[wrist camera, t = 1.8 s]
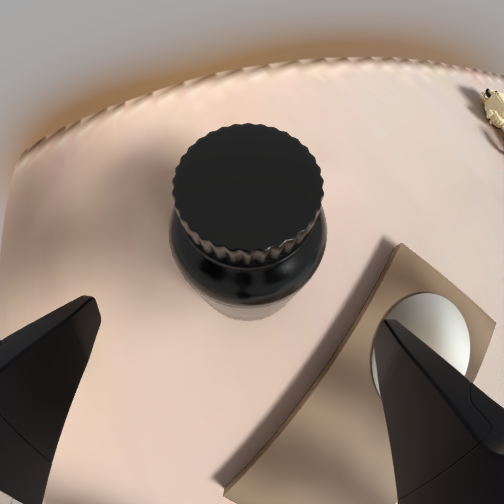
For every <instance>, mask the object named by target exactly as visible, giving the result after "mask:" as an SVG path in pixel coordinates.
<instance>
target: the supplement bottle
mask: <svg viewBox="0 0 504 504" xmlns="http://www.w3.org/2000/svg"><path fill="white" fill-rule="evenodd" d="M175 172H176V175H175V177H174V178H173V181H172V183H173V187H174V189H173V192H172V197H173V199H174V201H175V205H174V207H173V210H172V213H171V217H170V223H169V242H170V248H171V251H172V255H173V257H174V260H175V262H176V264H177V266H178V268H179V270H180V271H181V273H182V274H183V276H184V277H185V279H186V280H187V281H188V282H189V283H190V285H191V286H192V287H193V288H194V289H195V290H196V291H197V292H198V293H199V294H200V295H201V296H202V297H203V298H204V299H205V300H206V301H207V302H208V303H209V304H210V305H211V306H212V307H213V308H215V309H216V310H217V311H219V312H220V313H222V314H223V315H226V316H228V317H230V318H233V319H237V320H245V321H251V320H259V319H263V318H266V317H268V316H270V315H273V314H274V313H276V312H277V311H279V310H280V309H281V308H283V307H284V306H285V305H286V304H287V303H288V302H289V301H290V300H291V299H292V298H293V297H294V296H295V295H296V294H297V293H298V292H299V291H300V290H301V289H302V288H303V287H304V286H305V284H306V283H307V282H308V281H309V280H310V279H311V277H312V276H313V274H314V273H315V271H316V270H317V268H318V266H319V264H320V262H321V260H322V257H323V255H324V251H325V248H326V241H327V223H326V217H325V213H324V210H323V207H322V205H321V201H322V199H323V197H324V191H323V189H322V187H323V183H324V180H323V178H322V177H321V175H320V173H321V169H320V167H319V166H318V165H317V164H316V159H315V157H314V156H313V155H312V154H310V152H309V150H308V148H307V147H306V146H304V145H302V144H301V143H300V141H299V140H298V139H297V138H294V137H291V136H290V135H289V134H288V133H287V132H284V131H279V130H278V129H276V128H275V127H267V126H265V125H262V124H258V125H254V124H250V123H246V124H242V125H240V124H234V125H231V126H229V127H221V128H220V129H218V130H217V131H212V132H209V133H208V134H207V135H206V136H205V137H202V138H200V139H198V140H197V142H196V143H195V144H194V145H192V146H190V147H189V148H188V151H187V153H186V154H185V155H183V156H182V157H181V160H180V164H179V165H178V166H177V167H176V169H175Z"/></svg>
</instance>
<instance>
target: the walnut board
mask: <svg viewBox="0 0 504 504" xmlns="http://www.w3.org/2000/svg"><path fill="white" fill-rule="evenodd" d="M383 319H396V320H397V321H398V322H400V323H401V324H402V325H403V326H405V327H406V328H407V329H408V330H410V331H411V332H412V333H413V334H415V335H416V336H417V337H418V338H419V339H421V340H422V341H423V342H424V343H426V344H427V345H428V346H429V347H430V348H432V349H433V350H434V351H435V352H436V353H438V354H439V355H440V356H441V357H442V358H444V359H445V360H446V361H447V362H448V363H450V364H451V365H452V366H453V367H454V368H456V369H457V370H458V371H459V372H460V373H461V374H463V375H464V376H465V377H466V378H467V379H468V380H469V381H470V382H472V383H473V382H474V380H475V378H476V375H477V373H478V371H479V368H480V366H481V364H482V361H483V359H484V356H485V354H486V351H487V348H488V346H489V343H490V340H491V337H492V334H493V331H494V328H495V325H496V322H495V321H494V320H493V319H492V318H491V317H489V316H488V315H487V314H486V313H485V312H484V311H483V310H482V309H481V308H480V307H479V306H478V305H477V304H475V303H474V302H473V301H472V300H471V299H470V298H469V297H468V296H466V295H465V294H464V293H463V292H462V291H461V290H460V289H458V288H457V287H456V286H455V285H454V284H453V283H451V282H450V281H449V280H448V279H447V278H445V277H444V276H443V275H442V274H441V273H439V272H438V271H437V270H436V269H435V268H433V267H432V266H431V265H430V264H428V263H427V262H426V261H425V260H423V259H422V258H421V257H419V256H418V255H417V254H416V253H414V252H413V251H412V250H410V249H409V248H408V247H406V246H405V245H404V244H402V243H400V244H399V245H398V246H396V247H395V248H394V250H393V252H392V254H391V256H390V258H389V260H388V262H387V264H386V266H385V268H384V270H383V272H382V274H381V275H380V277H379V279H378V281H377V283H376V285H375V287H374V288H373V290H372V292H371V294H370V296H369V297H368V299H367V301H366V303H365V304H364V306H363V308H362V310H361V311H360V313H359V315H358V316H357V318H356V320H355V321H354V323H353V325H352V326H351V328H350V330H349V331H348V333H347V334H346V336H345V338H344V339H343V341H342V342H341V344H340V345H339V347H338V348H337V350H336V352H335V353H334V355H333V356H332V358H331V359H330V361H329V362H328V364H327V365H326V366H325V368H324V369H323V371H322V372H321V374H320V375H319V377H318V378H317V379H316V381H315V382H314V384H313V385H312V386H311V388H310V389H309V391H308V392H307V393H306V395H305V396H304V397H303V399H302V400H301V401H300V403H299V404H298V405H297V407H296V408H295V409H294V410H293V412H292V413H291V414H290V416H289V417H288V418H287V419H286V421H285V422H284V423H283V424H282V426H281V427H280V428H279V429H278V430H277V432H276V433H275V434H274V435H273V436H272V438H271V439H270V440H269V441H268V442H267V444H266V445H265V446H264V447H263V448H262V449H261V450H260V452H259V453H258V454H257V455H256V456H255V457H254V458H253V459H252V461H251V462H250V463H249V464H248V465H247V466H246V467H245V468H244V469H243V470H242V471H241V472H240V473H239V474H238V476H237V477H236V478H235V479H234V480H233V481H232V482H231V483H230V484H229V485H228V486H227V487H226V488H225V489H224V494H223V496H224V497H226V498H227V499H229V500H231V501H233V502H235V503H237V504H395V503H396V502H397V501H398V499H397V490H396V482H395V474H394V467H393V460H392V454H391V448H390V442H389V436H388V430H387V425H386V420H385V414H384V410H383V405H382V400H381V395H380V390H379V385H378V377H377V368H376V360H375V352H374V338H375V335H376V333H377V330H378V328H379V325H380V323H381V321H382V320H383Z"/></svg>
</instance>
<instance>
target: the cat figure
mask: <svg viewBox="0 0 504 504" xmlns="http://www.w3.org/2000/svg"><path fill="white" fill-rule="evenodd" d="M482 94H483V103H484V105H485V107H484V108H485V111H486V112H487V113H486V114H487V115H486V116H487V119H489V118H490V119H491V120H490V122H489V123H490V124H492V123H493V124H494V125H495V126H496V127H499V128H504V94H502V93H501V92H497V91H495V92H494V91H493V90H491V89H486V93H485V94H486V95H487V97H488V98H489V99H488V98H485V94H484V92H482Z"/></svg>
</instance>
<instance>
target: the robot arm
mask: <svg viewBox="0 0 504 504" xmlns="http://www.w3.org/2000/svg"><path fill="white" fill-rule="evenodd" d="M100 324H101V315H100V312H99V309H98V306H97V302H96V300H95V298H94V297H92V296H86V295H83V296H81V297H79V298H77V299H75V300H73V301H71V302H69V303H67V304H65V305H64V306H62V307H60V308H58V309H56V310H54V311H52V312H51V313H49V314H47V315H45V316H43V317H41V318H40V319H38V320H36V321H34V322H32V323H31V324H29V325H27V326H25V327H23V328H22V329H20V330H18V331H16V332H15V333H13V334H11V335H9V336H8V337H6V338H4V339H3V340H0V504H12V501H13V498H14V499H15V500H17V501H19V502H21V503H23V504H42V502H43V498H44V493H45V489H46V485H47V481H48V477H49V473H50V469H51V466H52V462H53V458H54V455H55V451H56V448H57V445H58V442H59V438H60V435H61V432H62V429H63V426H64V423H65V420H66V418H67V415H68V412H69V409H70V406H71V404H72V401H73V398H74V396H75V393H76V390H77V388H78V385H79V383H80V380H81V378H82V375H83V373H84V371H85V368H86V366H87V363H88V360H89V358H90V355H91V351H92V348H93V345H94V342H95V339H96V336H97V333H98V330H99V327H100ZM374 352H375V360H376V368H377V377H378V385H379V390H380V395H381V400H382V405H383V410H384V414H385V420H386V425H387V430H388V436H389V442H390V448H391V454H392V460H393V467H394V474H395V482H396V490H397V499H398V504H504V408H503V407H501V406H500V405H499V404H497V403H496V402H495V401H493V400H492V399H491V398H490V397H488V396H487V395H486V394H485V393H484V392H482V391H481V390H480V389H479V388H478V387H477V386H475V385H474V384H473V383H472V382H470V381H469V380H468V379H467V378H466V377H465V376H464V375H463V374H461V373H460V372H459V371H458V370H457V369H456V368H454V367H453V366H452V365H451V364H450V363H448V362H447V361H446V360H445V359H444V358H442V357H441V356H440V355H439V354H438V353H436V352H435V351H434V350H433V349H432V348H430V347H429V346H428V345H427V344H426V343H424V342H423V341H422V340H421V339H419V338H418V337H417V336H416V335H415V334H413V333H412V332H411V331H410V330H408V329H407V328H406V327H405V326H403V325H402V324H401V323H400V322H398V321H397V320H396V319H383V320H382V321H381V323H380V325H379V328H378V330H377V333H376V335H375V338H374Z"/></svg>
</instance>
